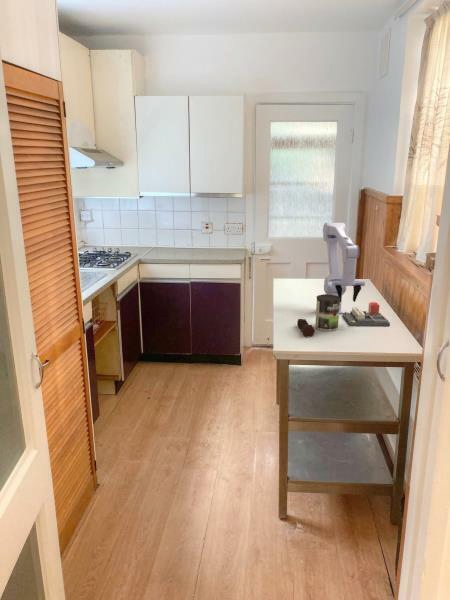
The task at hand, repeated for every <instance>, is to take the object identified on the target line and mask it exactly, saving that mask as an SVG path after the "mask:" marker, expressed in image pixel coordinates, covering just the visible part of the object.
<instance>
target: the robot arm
mask: <svg viewBox="0 0 450 600" xmlns="http://www.w3.org/2000/svg"><path fill="white" fill-rule="evenodd" d="M322 226H323V227H322V236H323V241H324V242H326V247H327V259H328V271H329V275H327V276H326V277H325V278H324V279H323V291H324V294H322V295H325V294H327V295H335V296H338V297H340V304H339V315H340V314H342V315H343V313H344V311H343V310H342V301H343V300H342V299H343V296H344V294H345V293H346V292H347V287H353V295H352V301H353V302H354V303H355V302H356V300H357V297H358V296H359V293H360V291H361V290H362V287H365V286H366V282H365V281H362V280H356V272H357V271H356V270H357V260H358V258H359V257H360V247H359V245H358V244H354V243H353V241H352V239H351V238H350V237H349V235H348V236H347V235H346V231H347V228H346V224H345V223H344V222H342V221H341V222H324V223H323V225H322ZM338 246H339V248H340V249H341V258H342V275H341V274H340V262H339V250H338Z"/></svg>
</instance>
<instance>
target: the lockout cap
mask: <svg viewBox="0 0 450 600" xmlns="http://www.w3.org/2000/svg"><path fill="white" fill-rule="evenodd" d="M367 313H380V304H379V303H378V302H376V301H371V302H368V310H367Z"/></svg>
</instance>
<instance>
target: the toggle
mask: <svg viewBox="0 0 450 600" xmlns="http://www.w3.org/2000/svg"><path fill="white" fill-rule="evenodd" d="M358 310H360V311H362V310H361V308H360V307H359V306H357V305H356V306H353V307H352V308H351V311H352V314H353V315H355V314H356V311H358Z"/></svg>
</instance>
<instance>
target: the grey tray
mask: <svg viewBox="0 0 450 600" xmlns="http://www.w3.org/2000/svg"><path fill="white" fill-rule="evenodd" d="M361 311H362V310H361ZM362 312H363V313H364V314H365V320H357V319H356V318H355V315H353V314H352V310H350V312H348V311H345V312H343V314H342V317H343V319H345V321H346V322H347V324H348V325H349V326H350V327H366V326H367V327H390V325H391V322H390V321H389V320H388V318H387V317H385V315H383V314H382V313H381V312H379V313H368V312H367V311H365V310H363V311H362Z"/></svg>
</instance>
